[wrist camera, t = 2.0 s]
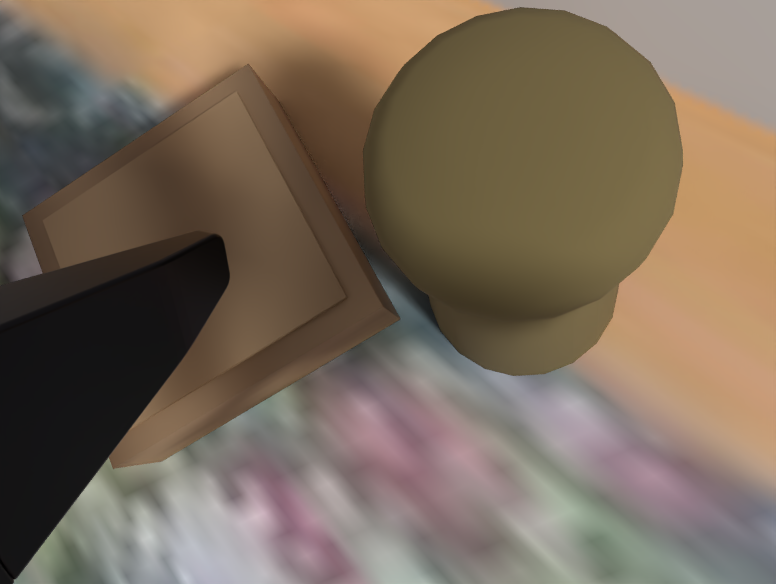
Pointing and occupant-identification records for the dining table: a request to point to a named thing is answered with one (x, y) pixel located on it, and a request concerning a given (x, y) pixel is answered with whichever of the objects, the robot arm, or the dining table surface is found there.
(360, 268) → the walnut plinth
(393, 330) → the dining table surface
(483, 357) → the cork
